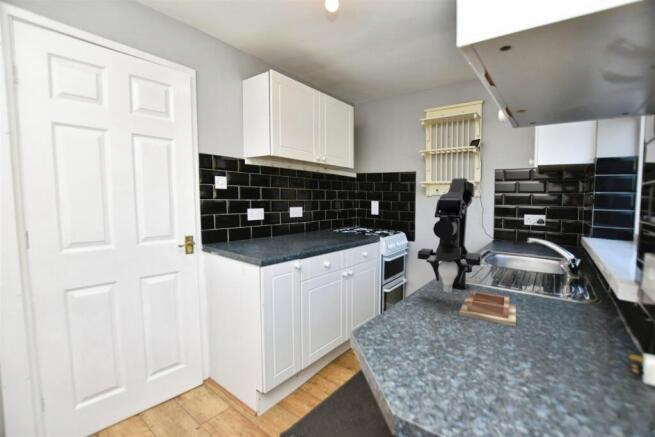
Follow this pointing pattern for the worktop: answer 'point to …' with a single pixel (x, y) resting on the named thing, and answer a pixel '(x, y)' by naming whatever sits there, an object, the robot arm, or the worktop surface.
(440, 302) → the worktop surface
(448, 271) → the lightbulb
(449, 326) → the worktop surface
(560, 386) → the worktop surface
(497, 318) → the holder
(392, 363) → the worktop surface
